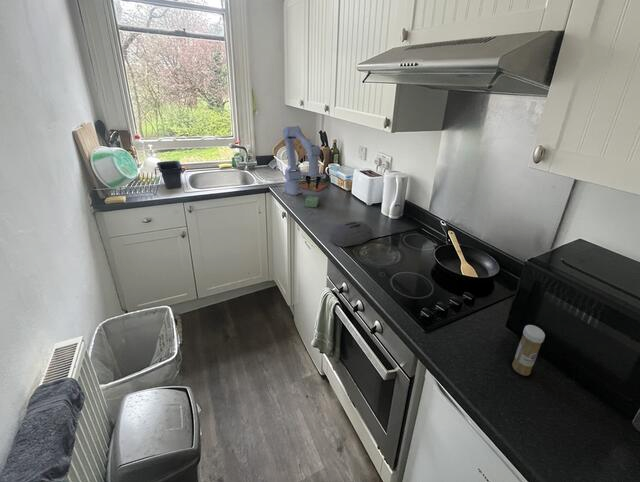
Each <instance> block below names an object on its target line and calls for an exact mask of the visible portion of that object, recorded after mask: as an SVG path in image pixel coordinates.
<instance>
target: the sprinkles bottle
mask: <svg viewBox="0 0 640 482" xmlns="http://www.w3.org/2000/svg"><path fill="white" fill-rule="evenodd" d="M545 337H546V334H545V332H544V331H543V329H541V328H540V327H538V326H536V325H533V324H527V325H525V326H524V328H523V331H522V336H521V339H520V341H519V344H518V346H517V349H516V352H515V355H514V359H513V361H512V363H511V366H512V368H513V370H514V371H515V372H516V373H518V374H519V375H521V376H530V375H531V373H532V370H533V367H534V365H535V362H536V360H537V357H538V354H539V351H540V348H541V345H542V343H543V342H544V341H545Z"/></svg>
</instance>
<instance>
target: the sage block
mask: <svg viewBox="0 0 640 482" xmlns="http://www.w3.org/2000/svg"><path fill="white" fill-rule="evenodd" d="M318 205H319V196H311V195H309V196H306V198H305V199H304V207H306V208H307V207H309V208H317V207H318Z"/></svg>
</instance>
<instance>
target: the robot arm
mask: <svg viewBox="0 0 640 482" xmlns="http://www.w3.org/2000/svg"><path fill="white" fill-rule="evenodd" d="M282 136H283V137H282V138H283V140H284V141H285V149H286V158H287V163H288V165H287V167H286V168H285V170H284V178H285V180H284V183H283V194H286V195H290V196H298V195H299V194H302V191H300V188H299V186H300V180H301V179H302V178H303V177H304V178H305V181H306V183H307V184H308V187H309V184H310V182H311V179H312V178H315V180H316V189H318V185H319V184H320V182H321V180H322V179H326V176H327V175H326V173H320V172H319V158H320V157H319V156H321V154H322V150H321V147H320V146H319V145H316V144H314V143H313V141H312V140H311V139H310V138H306V137H305V135H304V134H303V133H302V128H301V127H300V126H299V125H295V126H284V127H283V129H282ZM296 140H298V141H300V142H301V146H302V148H303V149H304V150H305V151H306V154H307V155H306V156H307V159H308V172H301V168H300V167H299V166H297V158H296V150H295V141H296Z"/></svg>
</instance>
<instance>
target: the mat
mask: <svg viewBox="0 0 640 482" xmlns="http://www.w3.org/2000/svg"><path fill="white" fill-rule="evenodd" d="M327 187H328V185H326V184H320V183H319V185H318V189H317V190H316V191H315V192H316V193H317V192H320V191H322V190H323V189H325V188H327ZM299 189H304V190H309V187H308V184H307V182H305V183H303V184H302V185H299ZM309 191H310V190H309Z"/></svg>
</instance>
